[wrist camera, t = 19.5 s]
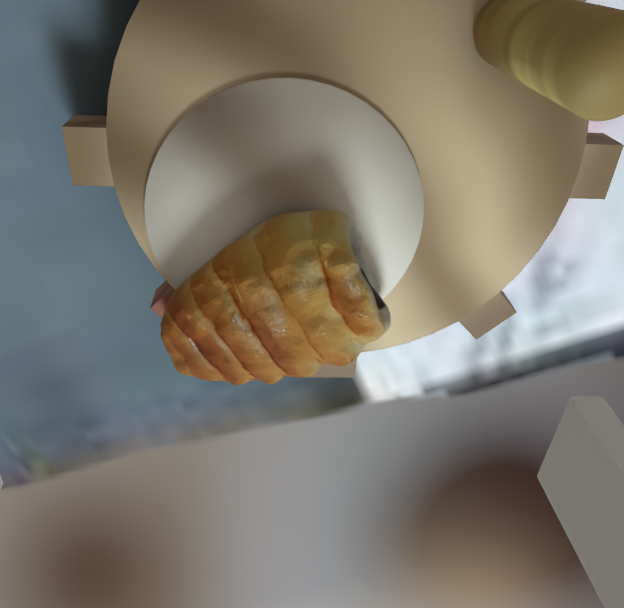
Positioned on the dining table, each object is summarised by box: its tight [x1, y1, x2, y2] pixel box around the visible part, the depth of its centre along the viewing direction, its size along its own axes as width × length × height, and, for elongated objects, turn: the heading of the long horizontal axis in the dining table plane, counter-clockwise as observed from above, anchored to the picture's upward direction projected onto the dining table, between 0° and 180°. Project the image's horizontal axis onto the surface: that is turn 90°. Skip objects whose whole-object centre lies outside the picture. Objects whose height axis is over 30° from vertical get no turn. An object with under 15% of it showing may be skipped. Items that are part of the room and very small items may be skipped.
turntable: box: [62, 0, 624, 377], centre depth 19 cm, size 21×21×9 cm
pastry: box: [160, 210, 391, 385], centre depth 23 cm, size 9×7×4 cm
